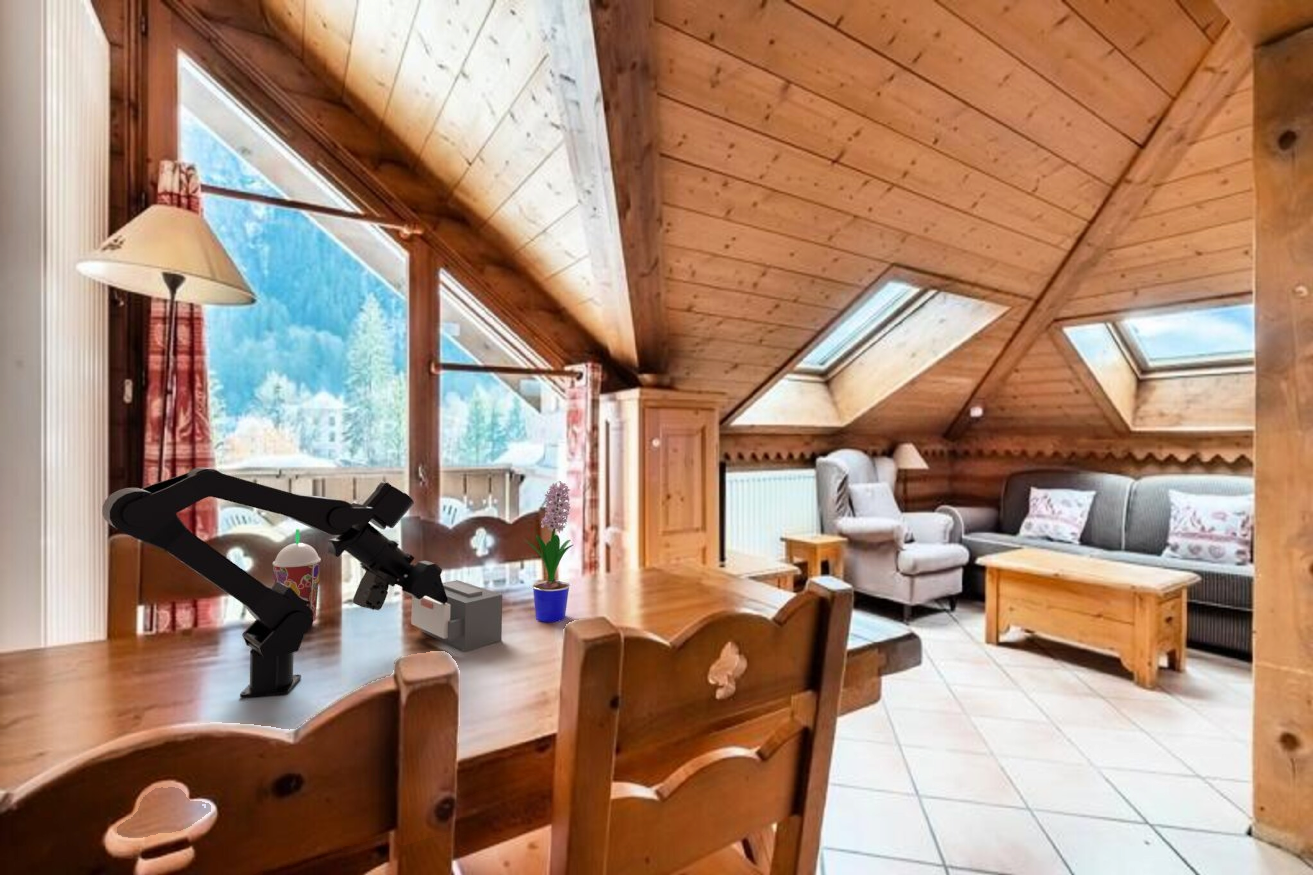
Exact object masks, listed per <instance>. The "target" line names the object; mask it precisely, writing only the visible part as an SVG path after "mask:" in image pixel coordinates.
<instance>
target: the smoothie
mask: <svg viewBox="0 0 1313 875" xmlns="http://www.w3.org/2000/svg"><path fill="white" fill-rule="evenodd" d="M321 560H322V559H321V557H320V556H319V554H318V552H317V551H316V549H315V548H314V547H312V546H311V545H310V544H307V543H305V542H300V529H295V542H294V543H290V544H288V545H286V546H284V547H283V548H282V549H281V550H280V551H279V552H278V553H277V556H276V557H275V560H274V561H272V566H273V583H274V584H275V583H276V581H278V582H280V583H282V584H284V585H286V586H288V587H290V588H291V589H292V590H293V591H294V592H295V593H296V594H297V595H298V596H300V597H302V598H304V599H306V600H308V601H310V604H307V606H308V607H309V608H310V609H311V610H312V611H313V613H314V615H313V623H312V626H311V628H312V627H313V625H314V622H315V621H316V620H317V619H316V618H317V606H318V595H319V583H320V581H319V580H320V570H321ZM274 584H273V585H274Z"/></svg>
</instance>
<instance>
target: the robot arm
mask: <svg viewBox="0 0 1313 875" xmlns="http://www.w3.org/2000/svg"><path fill="white" fill-rule="evenodd" d="M207 498H215V499H219V500H223V501H227V502H231V503H235V504H239V505H243V506H247V507H250V508H255V509H258V510H262V511H266V512H269V513H274V514H278V515H282V516H285V517H287V518H289V519H292V520H293V521H295V522H296V523H300V524H302V525H304V526H306V527H309V528H310V529H313V530H315V531H318V532H321V533H325V534H328V535H331V536H336V537H334V538H329V539H328V540H327V554H328V555H330V556H334V557H336V558H339V557H340V556H341V555H342V554H343V553H344V552H346V553H347V554H349V555H351V556H352V558H354V559H356V560H357V561H358V562H360V567H361V568H362V569H363V570H364V571H365V572H364V574H363V576H362V578H361V579H360V582H359V584H358V586H357V589H356V591H355V594H354V596H353V598H352V603H353V604H354V605H357V606H358V607H360V608H365V609H370V610H373V611H374V610H375V611H380V610H381V609H382V607H383V606H384V604H385V603H386V602H385V600H386V598H387V597H388V593H389V591H388V590H389V586H391V587H395V586H396V585H397V586H399V587H401V590H402V591H403V592H404V593H405V594H406V595H408V596H410V597H411V598H412V597H414V598H416V599H421V598H423V597H424V596H428V597H430V598H432V599H434V600H436V601H438V602H440V603H442V604H445V603H446V602H447V600H448V598H447V595H446V592H445V589H444V586H443V583H444V582H443V581H442V577H441V574H442V572H443V569H442V568H441V567H440V566H439V565H437V563H435V562H431V561H428V560H422V561H418V562H417V563H416V565H414V564H412V562H413V561H414V560H415V557H414V556H413V555H412V554H410V553H406V552H405V551H403V550H402V549H401V548H400V547H398V546H399V545H400V544H399V543H397V541H395V540H391V539H389V538H388V537H387V536H385V535H384V534H383V533H382V532H380V531H379V530H378V528H379V529H380V530H386V529H387V528H390V529H394V528H395V527H396V526H397V524H398V523H399V522H400V521H401V520H402V518H403V517H404V516H405V515H406V513H408V511H409V510H410V509H411V508H412V507H413V505H414V504H415V502H414V500H413V498H412V497H411V496H410V495H409V494H407V493H406V492H403V491H401V490H400V489H398V488H397V487H396V486H393V485H391V483H389V482H387V481H381V482H380V483H379V484H378V485H377V487H376V488H375V490H374V491H373V492H372V493H371V494H370V496H369V497H368V498H367V499H366V500H365V501H364V502H363V503H362V504H361V503H355V502H352V503H350V502H348V501H345V500H342V499H337V498H333V497H328V496H317V495H310V494H299V493H292V492H289V491H285V490H282V489H279V488H275V487H271V486H268V485H264V484H260V483H257V482H254V481H251V480H250V481H249V480H247V479H243V478H239V477H237V476H236V477H235V476H232V475H229V474H225V473H222V472H221V471H219V470H217V469H215V468H208V467H195V468H194V469H191V470H189V471H188V472H186V473H183V474H181V475H177V476H174V477H171V478H168V479H165V480H163V481H162V480H161V481H158V482H155V483H152V484H150V485H147V486H145V487H142V488H139V487H125V488H122V489H119V490H117V491H116V490H115V491H114V492H113V493H111V494H109V496H108V497H107V498H105V500H104V502H103V505H102V509H101V510H102V511H101V512H102V516H103V519H104V521H105V522H107V523H108V524H109V525H110V526H112V527H113V528H115V529H116V530H118V531H119V532H121V533H123V534H126V535H127V536H130V537H132V538H134V539H137V540H139V541H141V542H144V543H146V544H148V545H151V546H153V547H155V548H158V549H160V550H162V551H165V552H167V553H168V554H169V555H171V556H173V557H174V558H176V559H177V560H179V561H180V562H181V563H182V564H184V565H186V566H188V567H189V568H190V569H191V570H193V571H194V572H196V573H197V574H199V575H200V576H202V577H203V578H204V579H206V580H208V581H209V582H211V583H212V584H214V585H215V586H217V587H218V588H219V589H221V590H222V591H223V592H225V593H227V594H228V595H230V596H231V597H232V598H234V599H236V601H239V602H240V603H241V604H242V605H243V607H244V608H245V609H246V610H247V611H248V613H250V615H251V616H252V617H253V618H254V619H255V620H254V622H252V623H251V624H250V625H249V627H248V628H246V630H244V631H243V633H242V634H241V635H242V638H243V641H244V642H245V645H246V646H247V647H250V648H251V649H250V651H249V684H248V685H247V686H246V687H245V688H244V689H243V690H242V691H241V692H240V693H239V697H240V698H249V697H250V698H251V697H265V696H276V695H277V696H279V695H286V694H289V693H290V691H291V690H293V688H294V687H295V685H296V684H297V683H298V682H299V680H301V678H302V674H294V653H296V652H298V651H299V649H300V647H301V644H302V642H303V639H304V637H305V635H306V634H307V633H308V632H309V631H310V629H311V628H312V627H313V625H312V623H313V624H314V621H313V615H314V613H313V611H312V610H311V609H310V608H309V607H308V606H307V604H310V601H308V600H306V599H304V598H302V597H300V596H298V595H297V594H296V593H295V592H294V591H293V590H292V589H291V588H290V587H288V586H286V585H284V584H282V583H280V582H278V581H276V583H275V584H273V586H272V587H269V586H266V585H265V584H263V583H262V582H261V581H259V580H258V579H257V578H255V577H253V576H252V575H251V574H250V573H248V572H246V571H245V570H244V569H242V567H240V566H238V565H237V564H236V563H234V562H233V561H231V560H230V559H229V558H227V557H226V556H225V555H224V554H222V553H220V551H218V550H216V549H215V548H214V547H212V546H211V545H209V543H206V541H204V540H203V539H201V538H200V537H199V536H197V535H196V534H194V533H193V532H191V530H190V529H188V527H187V526H186V525H185V523H184V522H182V520H181V518H180V517H179V516H178V515H177V513H180V512H182V511H183V510H185V509H187V508H189V507H191V506H192V505H195V504H196V503H199V502H200V501H202V500H204V499H207ZM373 525H374V526H373ZM376 527H377V528H376ZM311 626H312V627H311Z"/></svg>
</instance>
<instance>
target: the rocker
mask: <svg viewBox="0 0 1313 875" xmlns="http://www.w3.org/2000/svg"><path fill="white" fill-rule="evenodd" d="M410 621H411V623H410V624H411V625H413V626H415V627H417V628H419V629H420V630H421V629H424V630H426V631H428V632H430V633H432V634H435V635H437V636H439V637H441V638H443V639H445V638H448V621H450V604H448V603H445V604H442V603H440V602H438V601H436V600H434V599H432V598H430V597H428V596H424V597H423V598H421V599H416V598H414V597H411V620H410Z"/></svg>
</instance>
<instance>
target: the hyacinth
mask: <svg viewBox="0 0 1313 875" xmlns="http://www.w3.org/2000/svg"><path fill="white" fill-rule="evenodd" d="M558 483H559V486H558ZM570 491H571V489H570V488H569V486H568V485H567V483H566V482H565V483H563V482H562V481H560V480H558V481H557V482H556V483H552V484H551V485H549V487H548V490H547V491H546V493H545V494H544V496H545V498H544V500H545V502H546V504H545V507H546V508H544V511H545V516H544V517H543V518H541V521H540V524H541V525H540V527H541V528H542V529H544V527H545V526H546V528H547V529H548V531H551V536H550V540H548V541H547V542H546V544H545V542H544V540H543V538H541V536H539V534H537V535H536V540H537V543H538V546H539V549H540V550H541V551H540V550H538V548H536V547H535V546H534V545H533V544H531V543H530V542H529V541H528V540H527V539H524V541H525V542H526V543H527V545H529V546H530V547H531V548H532V549H533V550H534V551H535V552H537V553H538V554H539V556H540V557H541V559H542V561H543V564H544V566H545V569H546V572H547V579H546V580H543V581H538V582H535V583H533V584H532V586H531V587H532V591H533V592H532V593H533V599H534V611H535V619H536V620H537V622H541V623H556V622H557V621H558V622H560V621H559V620H561V621H563V620H565V619H564V618H566V615H567V614H566V613H567V606H568V597H569V593H570V592H569V591H570V586H571V585H570V583H569V582H567V581H563V580H556V578H555V577H556V571H557V569H558V566H559V565H560V562H561V561H562V558H563V556H564V554H565V553H566V552H567V551H568V550H569V549H570V548H572V547H573V546H574V544H571V545H568V544H569V543H570V542H571V539H567V540H565V541H564V542H563V543H562V545H561V540H560V536H559V535H558V534H560V533H561V532H563V531H564V529H565V528H566V525H567V522H568V518H569V517H568V516H570V509H571V506H570V505H571V503H570V500H571V499H570V496H569V492H570ZM564 524H565V525H564ZM556 532H558V534H555V533H556ZM567 545H568V546H567ZM562 619H563V620H562Z"/></svg>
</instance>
